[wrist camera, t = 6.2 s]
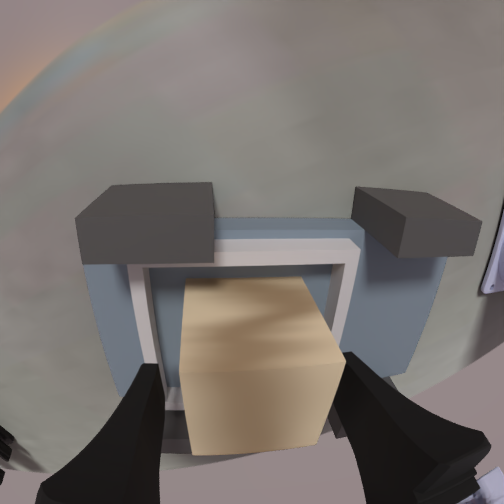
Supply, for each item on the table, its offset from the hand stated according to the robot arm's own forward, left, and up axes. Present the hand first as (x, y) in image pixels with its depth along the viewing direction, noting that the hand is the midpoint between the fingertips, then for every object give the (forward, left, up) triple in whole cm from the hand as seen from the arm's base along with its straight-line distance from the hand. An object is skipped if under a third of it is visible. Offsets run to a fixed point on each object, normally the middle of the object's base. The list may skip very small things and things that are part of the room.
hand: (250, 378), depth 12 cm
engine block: (0, 0, -3) cm, 3 cm away
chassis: (-2, 0, -5) cm, 5 cm away
